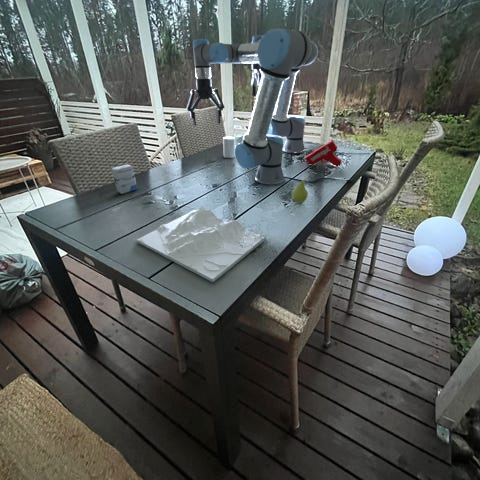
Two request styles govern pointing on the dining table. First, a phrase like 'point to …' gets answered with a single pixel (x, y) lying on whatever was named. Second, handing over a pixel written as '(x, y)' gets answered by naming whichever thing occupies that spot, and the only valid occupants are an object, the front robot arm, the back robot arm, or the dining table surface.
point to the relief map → (202, 243)
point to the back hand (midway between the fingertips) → (256, 96)
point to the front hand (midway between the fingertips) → (206, 124)
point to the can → (229, 147)
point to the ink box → (124, 178)
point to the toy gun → (324, 155)
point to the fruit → (300, 192)
